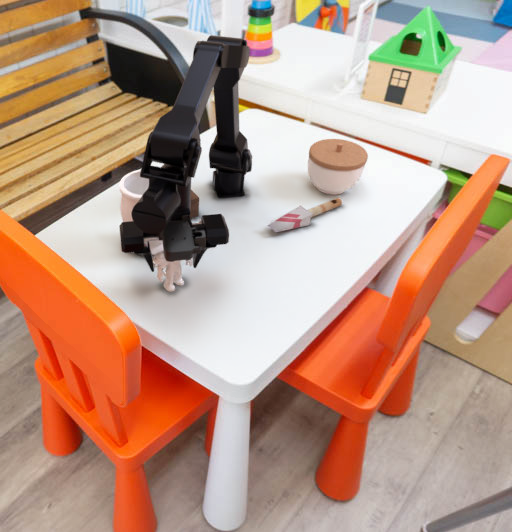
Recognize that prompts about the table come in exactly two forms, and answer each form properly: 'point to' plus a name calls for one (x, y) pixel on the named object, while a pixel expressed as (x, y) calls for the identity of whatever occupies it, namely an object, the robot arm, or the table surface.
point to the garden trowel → (302, 216)
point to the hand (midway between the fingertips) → (173, 268)
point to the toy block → (194, 205)
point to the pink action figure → (169, 271)
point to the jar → (135, 201)
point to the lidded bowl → (335, 165)
